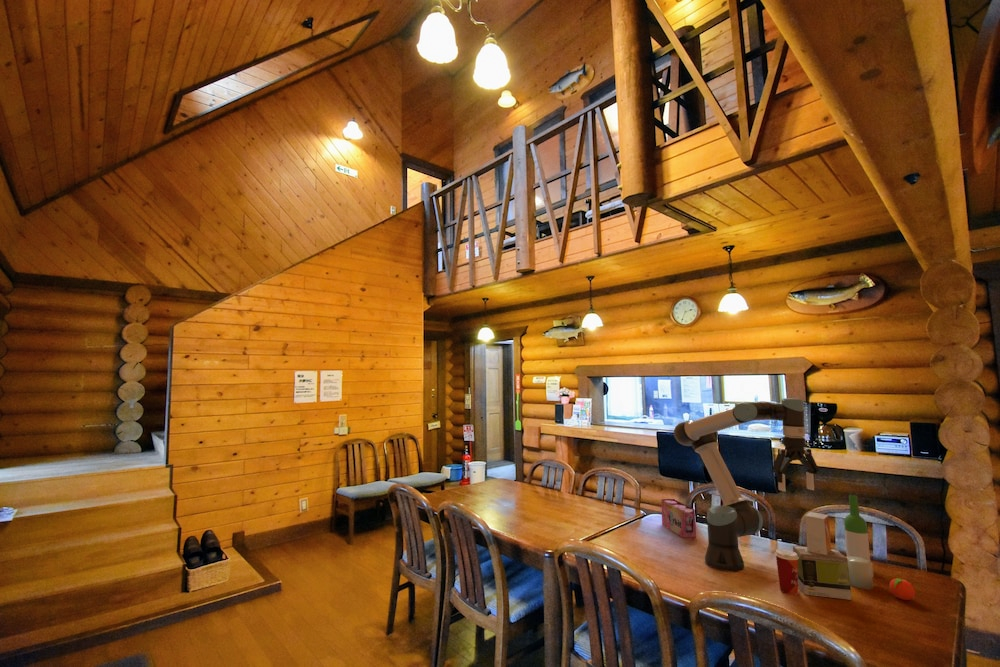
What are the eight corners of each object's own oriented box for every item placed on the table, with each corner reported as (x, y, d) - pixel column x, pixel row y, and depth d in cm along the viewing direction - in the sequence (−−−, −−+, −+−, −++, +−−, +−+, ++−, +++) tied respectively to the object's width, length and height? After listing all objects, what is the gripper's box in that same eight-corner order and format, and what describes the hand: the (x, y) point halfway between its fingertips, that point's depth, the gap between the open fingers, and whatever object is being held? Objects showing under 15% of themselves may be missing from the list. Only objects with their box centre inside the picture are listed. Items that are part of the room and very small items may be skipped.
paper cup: (801, 598, 162) (799, 557, 164) (777, 593, 166) (774, 553, 168) (801, 590, 169) (798, 551, 170) (777, 585, 173) (774, 547, 174)
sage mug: (861, 590, 169) (859, 565, 170) (841, 581, 177) (839, 557, 178) (883, 587, 171) (881, 562, 172) (862, 578, 179) (860, 555, 180)
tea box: (840, 589, 170) (837, 548, 171) (852, 601, 160) (848, 558, 162) (795, 583, 174) (792, 544, 176) (803, 595, 165) (800, 553, 166)
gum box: (698, 538, 226) (697, 510, 227) (683, 538, 225) (682, 510, 227) (675, 523, 249) (674, 498, 251) (661, 524, 249) (660, 499, 250)
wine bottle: (846, 563, 194) (840, 492, 197) (869, 567, 190) (862, 494, 193) (849, 570, 187) (843, 496, 191) (873, 574, 183) (866, 498, 187)
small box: (827, 555, 164) (824, 519, 165) (806, 551, 168) (804, 515, 170) (831, 550, 170) (829, 514, 171) (811, 546, 174) (809, 511, 176)
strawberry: (907, 605, 157) (905, 584, 158) (884, 597, 163) (882, 576, 164) (920, 601, 160) (918, 580, 161) (896, 593, 166) (894, 573, 167)
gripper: (775, 438, 176) (777, 493, 174) (827, 437, 181) (830, 491, 179) (760, 435, 183) (762, 488, 181) (811, 435, 188) (813, 486, 186)
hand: (796, 490), depth 180 cm, fingers open, 13 cm apart
